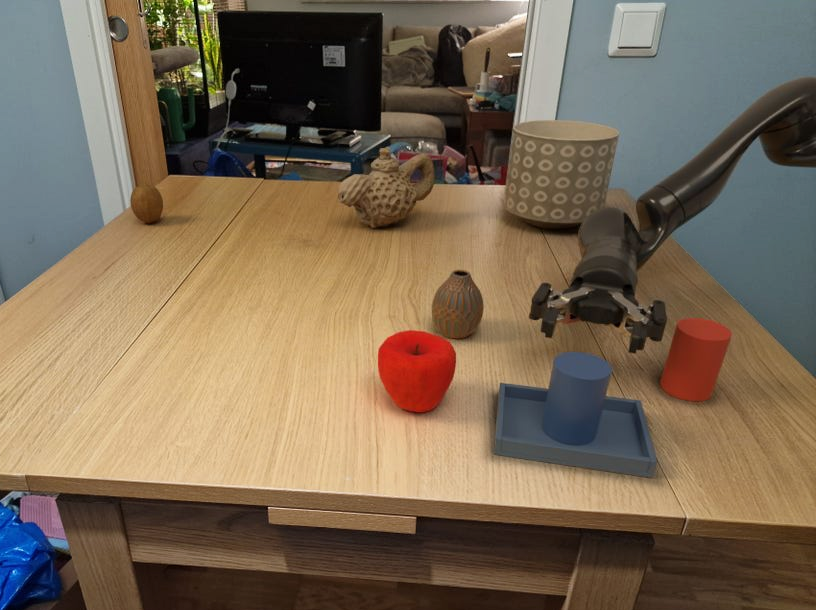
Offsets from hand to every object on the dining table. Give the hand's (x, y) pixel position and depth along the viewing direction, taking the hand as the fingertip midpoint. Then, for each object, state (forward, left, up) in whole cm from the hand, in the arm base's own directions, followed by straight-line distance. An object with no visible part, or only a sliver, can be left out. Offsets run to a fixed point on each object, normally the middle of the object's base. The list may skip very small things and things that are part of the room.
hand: (590, 337), depth 70 cm
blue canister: (+1, +5, -9) cm, 10 cm away
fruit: (+79, -49, -10) cm, 93 cm away
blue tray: (+1, +5, -9) cm, 11 cm away
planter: (+1, -69, -10) cm, 70 cm away
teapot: (+33, -60, -10) cm, 69 cm away
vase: (+15, -16, -10) cm, 24 cm away
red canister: (-13, -8, -9) cm, 18 cm away
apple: (+18, +3, -10) cm, 20 cm away
